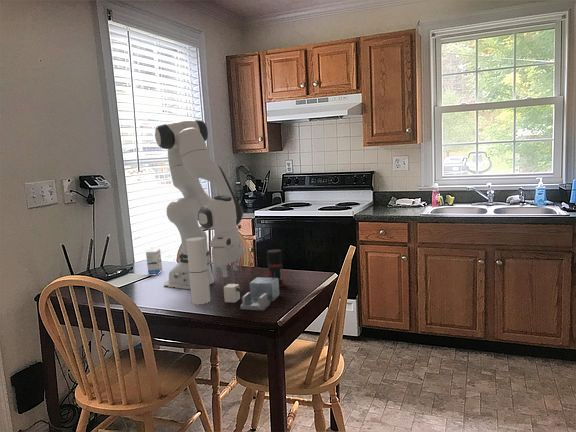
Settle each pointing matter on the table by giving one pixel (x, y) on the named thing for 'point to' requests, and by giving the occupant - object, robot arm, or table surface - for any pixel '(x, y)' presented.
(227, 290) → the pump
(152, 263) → the ink box
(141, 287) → the table surface
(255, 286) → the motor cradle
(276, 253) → the deodorant
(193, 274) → the cylindrical container
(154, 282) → the table surface
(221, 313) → the table surface
